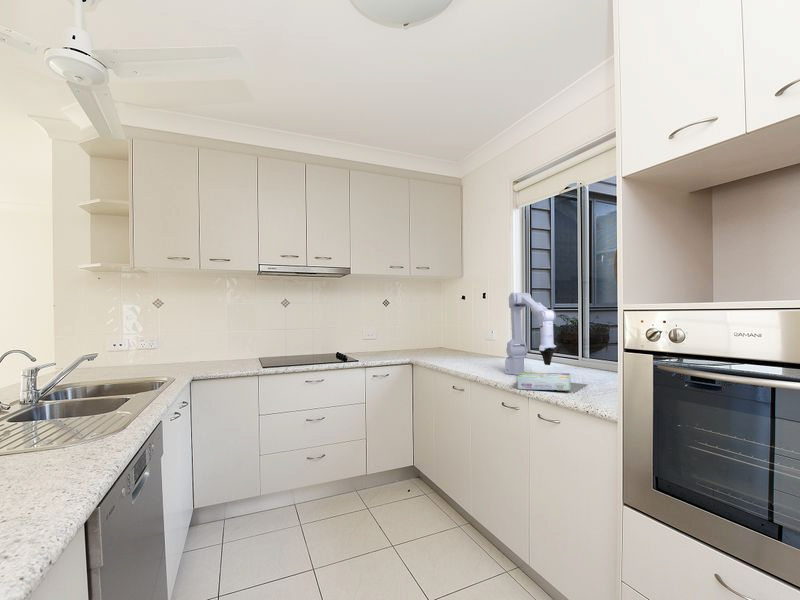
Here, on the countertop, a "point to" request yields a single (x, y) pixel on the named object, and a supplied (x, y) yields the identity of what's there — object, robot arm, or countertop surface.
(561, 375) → the snack box
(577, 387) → the mat
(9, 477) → the countertop surface
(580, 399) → the countertop surface
